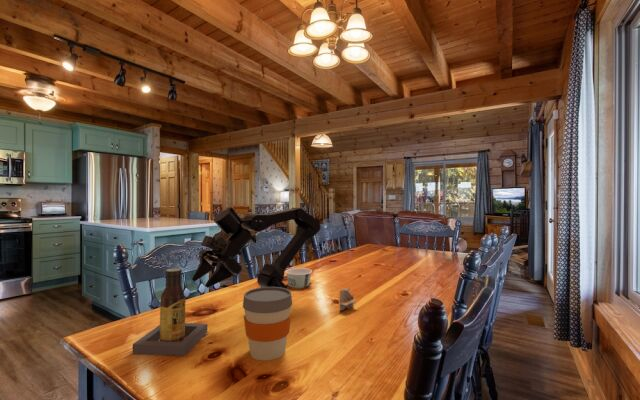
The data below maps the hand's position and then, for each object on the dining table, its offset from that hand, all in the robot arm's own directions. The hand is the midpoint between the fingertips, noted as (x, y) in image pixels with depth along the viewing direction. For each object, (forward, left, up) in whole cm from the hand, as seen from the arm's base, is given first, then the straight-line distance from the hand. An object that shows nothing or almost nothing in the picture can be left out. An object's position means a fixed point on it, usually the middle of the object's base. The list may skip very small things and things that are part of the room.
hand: (199, 283), depth 92 cm
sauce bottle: (+4, +7, -14) cm, 17 cm away
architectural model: (-44, -22, -15) cm, 51 cm away
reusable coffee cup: (-23, +10, -14) cm, 29 cm away
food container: (-23, -50, -14) cm, 57 cm away
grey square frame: (+4, +7, -14) cm, 17 cm away
